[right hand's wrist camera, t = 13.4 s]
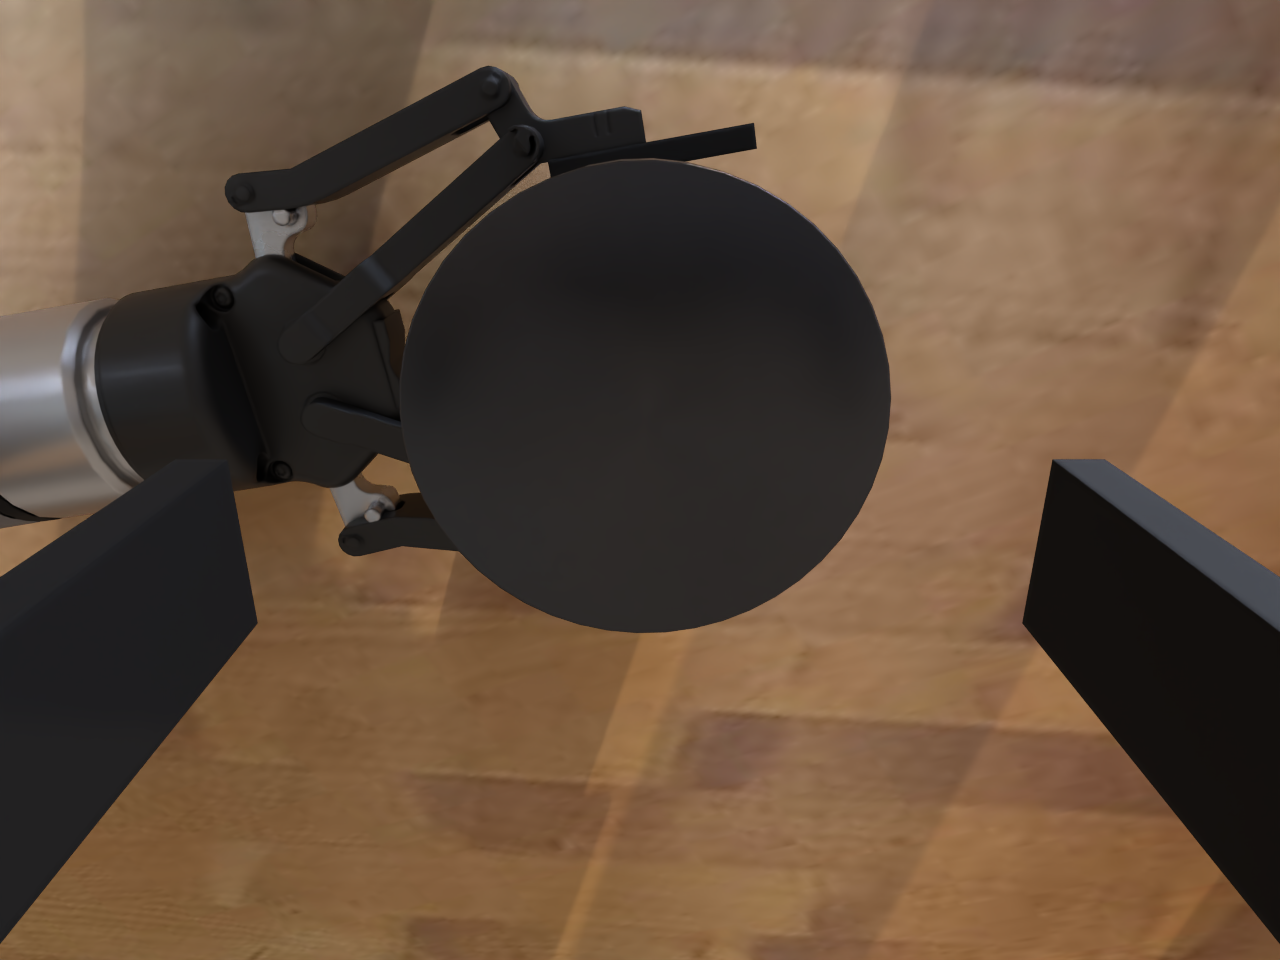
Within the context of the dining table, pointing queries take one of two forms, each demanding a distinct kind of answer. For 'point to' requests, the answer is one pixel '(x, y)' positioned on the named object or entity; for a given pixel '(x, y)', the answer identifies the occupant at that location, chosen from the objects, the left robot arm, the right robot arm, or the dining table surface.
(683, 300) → the lid
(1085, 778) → the dining table surface
